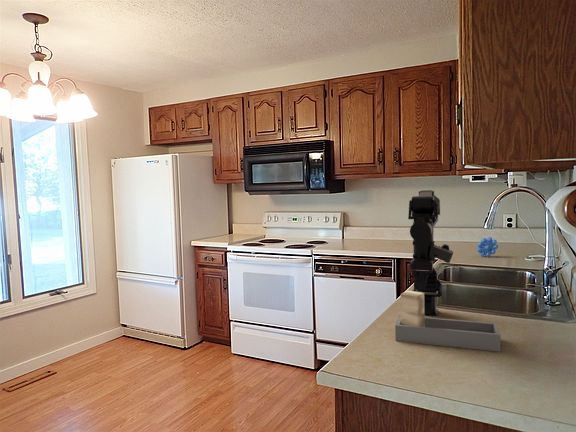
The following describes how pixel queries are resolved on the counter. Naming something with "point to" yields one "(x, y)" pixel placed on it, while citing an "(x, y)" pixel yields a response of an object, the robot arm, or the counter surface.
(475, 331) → the box
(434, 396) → the counter surface
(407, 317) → the birch block
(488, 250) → the grapes
